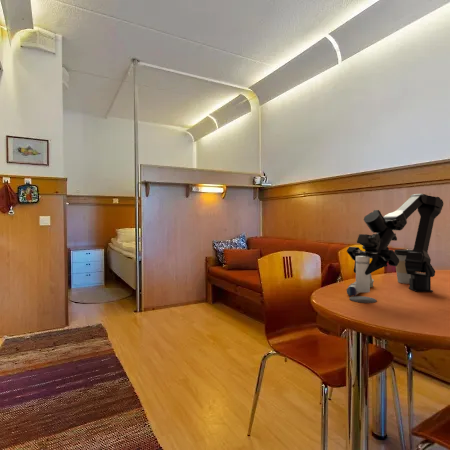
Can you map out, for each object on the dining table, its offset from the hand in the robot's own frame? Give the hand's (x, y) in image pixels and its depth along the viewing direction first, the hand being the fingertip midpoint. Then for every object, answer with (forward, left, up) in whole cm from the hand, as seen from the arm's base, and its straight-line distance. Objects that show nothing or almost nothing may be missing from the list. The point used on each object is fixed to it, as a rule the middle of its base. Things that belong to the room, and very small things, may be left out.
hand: (360, 273), depth 111 cm
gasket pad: (-1, -1, -10) cm, 10 cm away
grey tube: (-6, -17, -10) cm, 21 cm away
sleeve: (-1, -1, -7) cm, 7 cm away
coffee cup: (-32, -35, -10) cm, 48 cm away
